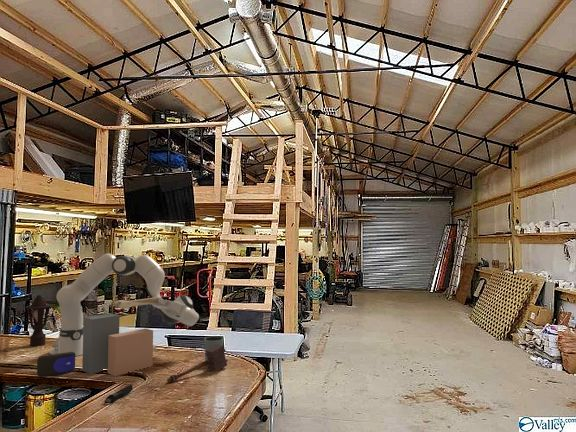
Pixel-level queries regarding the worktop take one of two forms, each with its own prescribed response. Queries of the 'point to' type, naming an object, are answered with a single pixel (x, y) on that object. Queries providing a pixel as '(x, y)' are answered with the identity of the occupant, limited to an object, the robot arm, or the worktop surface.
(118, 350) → the tan upright block
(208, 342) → the grey green cup
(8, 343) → the worktop surface
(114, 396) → the electric trimmer
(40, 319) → the lantern
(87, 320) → the grey upright block
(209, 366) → the hammer
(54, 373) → the leaning round-cornered charcoal block
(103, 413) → the worktop surface
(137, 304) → the T-bar
